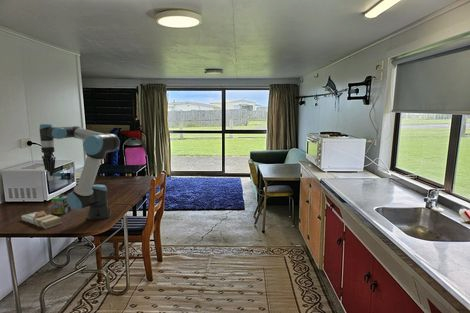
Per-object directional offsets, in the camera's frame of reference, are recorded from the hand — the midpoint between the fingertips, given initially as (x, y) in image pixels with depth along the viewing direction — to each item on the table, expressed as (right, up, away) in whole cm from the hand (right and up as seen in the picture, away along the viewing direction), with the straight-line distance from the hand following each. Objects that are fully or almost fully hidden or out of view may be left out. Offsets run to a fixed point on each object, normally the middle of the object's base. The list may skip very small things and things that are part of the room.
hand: (50, 180), depth 204 cm
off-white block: (-9, -23, -3) cm, 25 cm away
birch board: (+5, -28, -10) cm, 30 cm away
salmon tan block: (-2, -25, -7) cm, 26 cm away
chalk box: (0, -25, +13) cm, 28 cm away
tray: (-9, -27, -3) cm, 29 cm away
